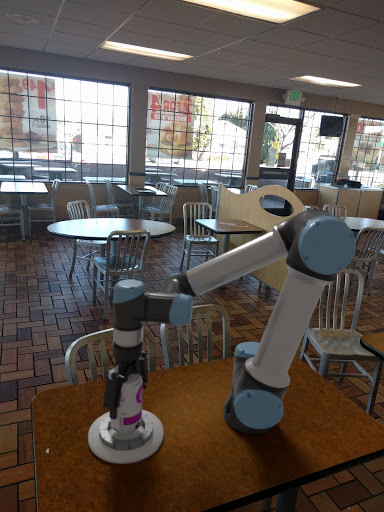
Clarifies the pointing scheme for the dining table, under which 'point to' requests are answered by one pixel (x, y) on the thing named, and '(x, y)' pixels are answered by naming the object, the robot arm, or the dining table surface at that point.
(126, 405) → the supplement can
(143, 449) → the round tray
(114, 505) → the dining table surface
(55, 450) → the dining table surface
